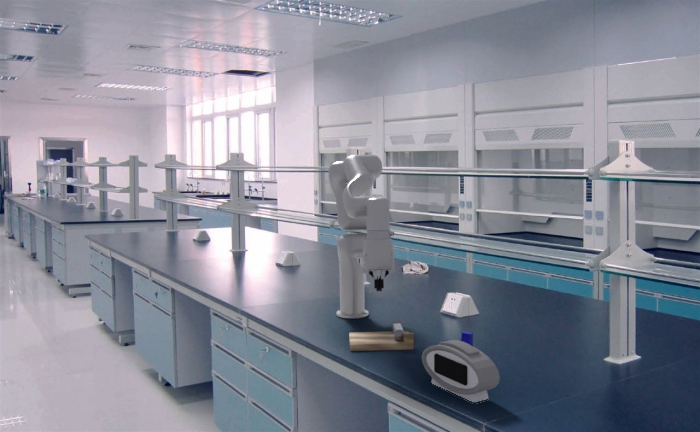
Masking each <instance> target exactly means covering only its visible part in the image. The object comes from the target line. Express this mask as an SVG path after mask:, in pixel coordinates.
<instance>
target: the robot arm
mask: <svg viewBox="0 0 700 432" xmlns="http://www.w3.org/2000/svg"><path fill="white" fill-rule="evenodd" d="M328 167H329V168H328V180H329V184H330V186H331V189H332V192H333V194H334V198H335V204H336V214H337V215H336V216H337V224H338V227H339V229H340V230H341V231H344V232H362V231H363V232H366V233H347V234H343V235H340V236H339V237H338V238H337V240H336V251H337V256H338V266H339V269H338V270H339V309H338V310H337V311H336V312H335V314H336V316H337V317H338V318H342V319H351V320H352V319H363V318H366V317H367V316H369V315H370V314H369V310H367V309H365V306H366V305H365V302H366V301H365V274H367V275H370V276H371V277H372V279H373V281H374V284H373V285H374V288H373V289H376V292H382V291H383V289H385V287H384V286H385V284H384V282H385V281H384V280H385V278H386V277H387V276H388V275H390V274H394V273H395V272H396V269H395V252H394V245H393V239H392V238H391V237H392V236H395V231H393V230H391V229H390V228H391V227H390V225H391V224H390V221H391V219H390V217H391V216H390V215H391V214H390V213H391V212H390V201H389V199H388V198H387V197H384V196H383V195H382V196H381V195H368V196H367V195H365V194H367V193H369V191H370V190H371V189H372V188H373V185H374V181H375V180H377V179H378V178H379V177H380V176H381V175H382V172H383V163H382V160H381V158H380V157H379V156H378V155H376V154H351V155H349V156H347V157H345V158H344V160H339V161H336V162H333V163H331V164H330V166H328ZM362 195H363V196H362ZM359 259H362V264H361V263H360V262H359ZM362 265H363V266H362ZM377 271H380V275H379V276H378V273H377Z"/></svg>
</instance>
